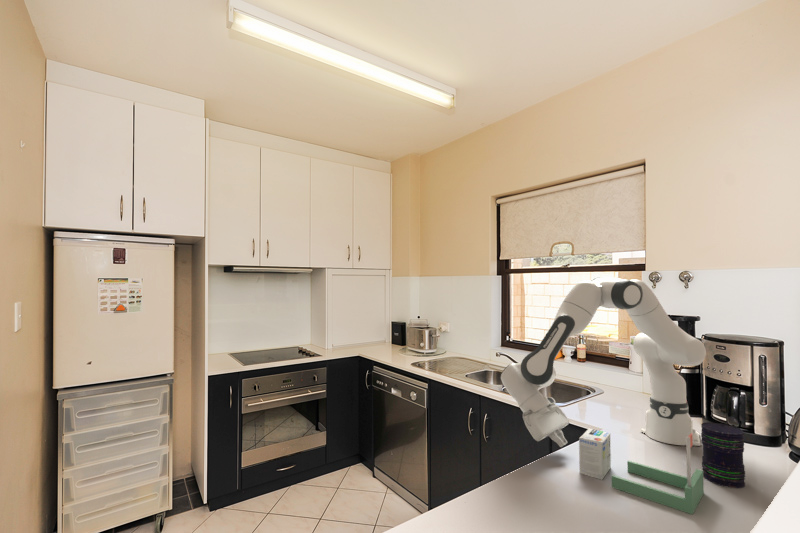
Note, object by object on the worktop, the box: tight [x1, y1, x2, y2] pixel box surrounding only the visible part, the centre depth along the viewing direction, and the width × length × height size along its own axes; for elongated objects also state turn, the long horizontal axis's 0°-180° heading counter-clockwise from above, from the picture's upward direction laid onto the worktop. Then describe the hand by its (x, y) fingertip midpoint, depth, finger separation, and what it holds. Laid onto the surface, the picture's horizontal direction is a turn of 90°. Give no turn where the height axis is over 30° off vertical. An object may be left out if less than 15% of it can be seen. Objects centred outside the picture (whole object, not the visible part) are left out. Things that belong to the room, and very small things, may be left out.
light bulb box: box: [578, 427, 612, 480], centre depth 122 cm, size 11×7×11 cm, turn 141°
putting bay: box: [611, 433, 705, 515], centre depth 111 cm, size 15×18×18 cm
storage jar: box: [700, 421, 746, 489], centre depth 117 cm, size 10×10×15 cm
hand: (564, 445), depth 129 cm, fingers closed
